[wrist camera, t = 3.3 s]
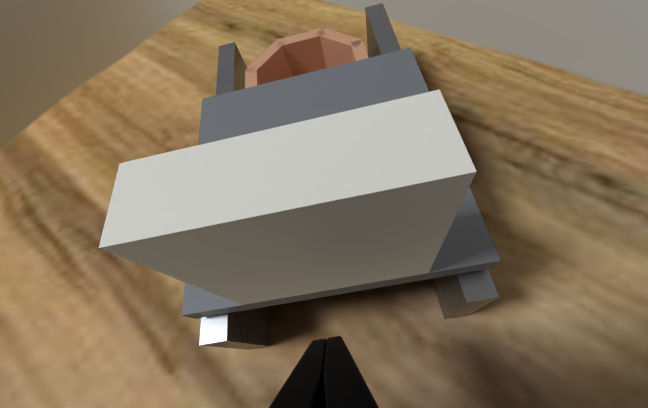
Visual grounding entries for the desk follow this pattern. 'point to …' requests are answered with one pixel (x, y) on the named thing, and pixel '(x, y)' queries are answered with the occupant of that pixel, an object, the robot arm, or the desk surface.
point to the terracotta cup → (304, 55)
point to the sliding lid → (306, 192)
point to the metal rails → (252, 325)
